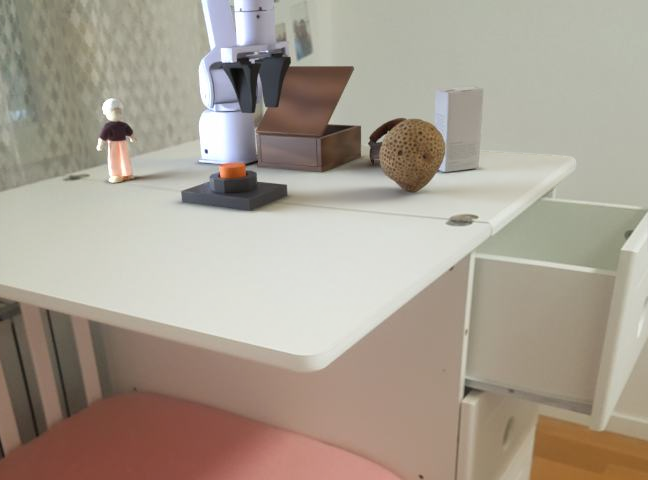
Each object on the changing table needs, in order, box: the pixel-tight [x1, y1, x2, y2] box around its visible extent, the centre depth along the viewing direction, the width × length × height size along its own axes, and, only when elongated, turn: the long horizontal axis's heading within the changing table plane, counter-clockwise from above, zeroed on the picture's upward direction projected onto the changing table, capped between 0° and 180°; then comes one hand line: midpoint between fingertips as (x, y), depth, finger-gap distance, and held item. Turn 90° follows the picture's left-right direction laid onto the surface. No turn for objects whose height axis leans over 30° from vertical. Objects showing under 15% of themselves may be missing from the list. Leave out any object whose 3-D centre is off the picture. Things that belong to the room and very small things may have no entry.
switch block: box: [180, 169, 288, 212], centre depth 100 cm, size 12×9×4 cm
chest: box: [255, 123, 362, 173], centre depth 122 cm, size 14×13×5 cm
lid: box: [255, 65, 355, 137], centre depth 118 cm, size 14×13×1 cm
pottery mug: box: [367, 117, 408, 166], centre depth 118 cm, size 12×10×8 cm
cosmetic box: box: [434, 85, 484, 173], centre depth 110 cm, size 6×4×12 cm
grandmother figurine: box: [96, 97, 138, 184], centre depth 115 cm, size 8×4×13 cm, turn 152°
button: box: [219, 162, 247, 178], centre depth 100 cm, size 4×4×2 cm
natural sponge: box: [379, 118, 445, 193], centre depth 98 cm, size 9×9×10 cm
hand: (260, 109), depth 109 cm, fingers open, 6 cm apart
